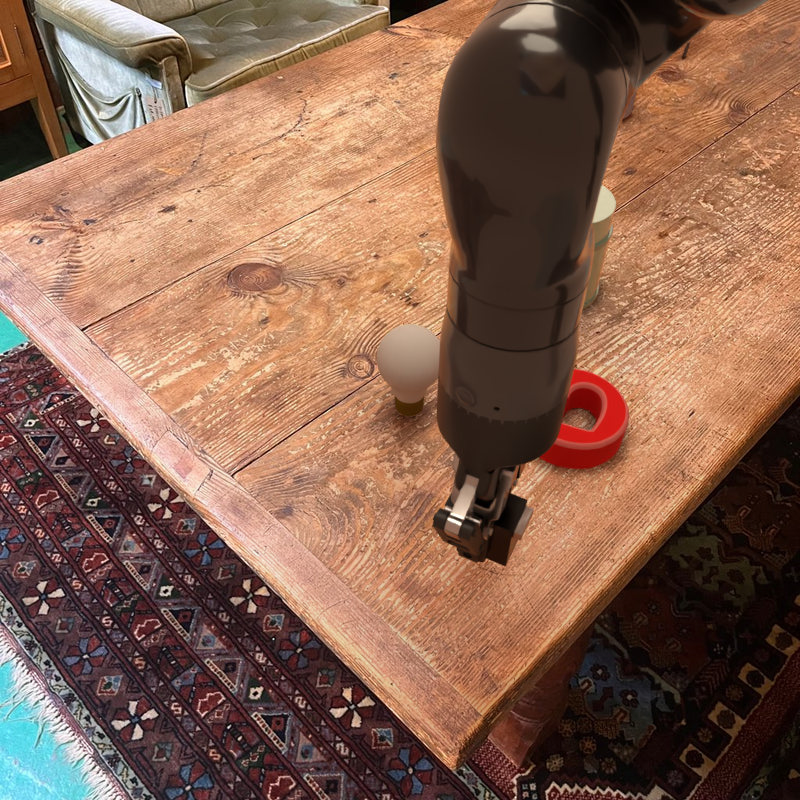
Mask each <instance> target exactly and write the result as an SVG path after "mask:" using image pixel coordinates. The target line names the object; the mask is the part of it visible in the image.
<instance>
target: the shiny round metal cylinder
mask: <svg viewBox="0 0 800 800" xmlns="http://www.w3.org/2000/svg"><path fill="white" fill-rule="evenodd" d="M616 208H617V200H616V197H615V196H614V194H613V193H612V191H610V189H609V188H607V187H606V186H604V185H603V184H602V186H601V190H600V194H599V198H598V202H597V206H596V210H595V214H594V218H593V223H592V226H593V230H594V256H593V263H592V269H591V275H590V278H589V283H588V288H587V292H586V297H585V301H584V305H583V310H585V309H587V308H589V307H590V306H591V305H592V304H594V303H595V301H596V300H597V298H598V296H599V291H600V280H601V277H602V272H603V269H604V265H605V260H606V256H607V253H608V249H609V244H610V241H611V239H612V236H613V233H614V225H613V221H614V216H615V211H616Z"/></svg>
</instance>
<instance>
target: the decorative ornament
mask: <svg viewBox="0 0 800 800" xmlns="http://www.w3.org/2000/svg"><path fill="white" fill-rule="evenodd" d="M574 409H584V410H585V411H588V412H589V413H591V414H592V416H593V417H594V420H595V424H594V425H593V426H592V428H591V429H590V430H589V429H584V428H580V427H576V426H573V425H570V424H567V423H564V422H562V424H561V428H560V432H559V435H558V437H557V439H556V441H555V443H554V444H553V446H552V447H551V448H550V449H549V450H548V451H547V452H546V453H545V454H543V455H542V456H540V457H539V458H538V459H541V460H542V461H543V462H545V463H547V464H550V465H552V466H556V467H560V468H564V469H571V470H587V469H594V468H596V467H599V466H601V465H603V464H605V463H607V462H609V461H610V460H612V458H613V457H614V456H615V455H617V453H618V452H619V450H620V448H621V446H622V443H623V440H624V438H625V434H626V431H627V428H628V425H629V422H630V409H629V405H628V403H627V400H626V399H625V397H624V395H623V394H622V393H621V391H620V390H619V389H618V388H617V387H616V386H615V385H614V384H613V383H612V382H610V381H609V380H608V379H606V378H605V377H603V376H600V374H599V375H598V374H596V373H595V372H592V371H589V370H586V369H585V370H584V369H580V368H574V372H573V376H572V380H571V385H570V389H569V393H568V398H567V402H566V406H565V410H564V415H563V419H564V418H565V415H567V413H568V412H569V411H571V410H574Z"/></svg>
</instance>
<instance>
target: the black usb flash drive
mask: <svg viewBox="0 0 800 800" xmlns="http://www.w3.org/2000/svg"><path fill="white" fill-rule="evenodd" d="M451 495H452V491H451V492H450V494H449V496H448V498H447V499H446V501H445V503H444V507H445V506H446V505H447V506H449V507H452V508H453V506H454V504H453V502H452V501H451ZM472 515H474V516H477V517H479V518H482V519H484V517H483V516H482V515H480V514H478V513H475V512H473V514H472ZM533 515H534V508H533V507H531V506H528V499H527V498H524V497H522V496H519V495H516V494H514V493H512V492H511V493H509V494H508V499H507V503H506V507H505V508H504V510H503V512H502V514H501V516H500V518H499V519H498V520H495V522H494V526H493V529H494V531H493V534H492V536H491V540H490V546H489V553H488V556H487V558H486V560H489V561H490V562H493V563H495V564H497V565H500V566H503V567H507V565H508V563H509V561H510V559H511V556H512V554H513V552H514V550H515V548H516V546H517V543H518V542H521V541H522V540H523V537H524V534H525V533H526V530H527V528H528V526H529V524H530V521H531V519H532V517H533Z"/></svg>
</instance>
